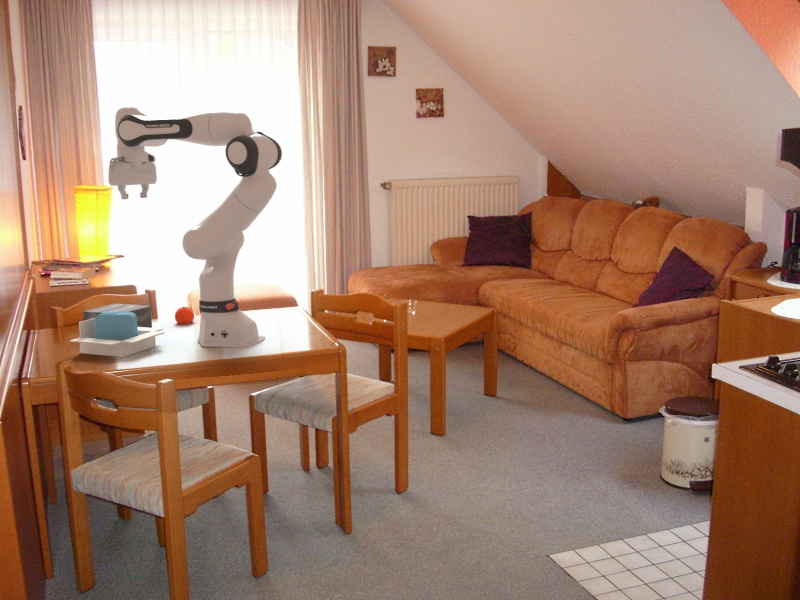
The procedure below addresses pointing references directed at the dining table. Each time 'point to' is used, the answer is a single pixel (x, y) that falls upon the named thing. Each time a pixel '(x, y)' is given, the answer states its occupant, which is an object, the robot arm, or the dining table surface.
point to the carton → (114, 341)
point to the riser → (140, 311)
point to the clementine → (184, 315)
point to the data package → (116, 326)
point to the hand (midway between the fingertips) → (134, 198)
